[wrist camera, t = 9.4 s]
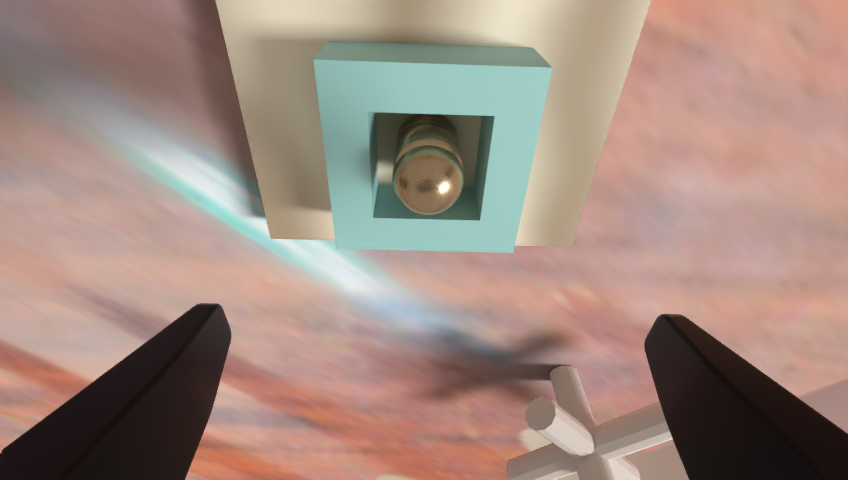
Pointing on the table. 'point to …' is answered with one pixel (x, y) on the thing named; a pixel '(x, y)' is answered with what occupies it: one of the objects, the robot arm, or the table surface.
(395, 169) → the bronze post
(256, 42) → the birch stand board
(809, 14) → the table surface
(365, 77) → the teal collar
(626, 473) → the pipe connector
